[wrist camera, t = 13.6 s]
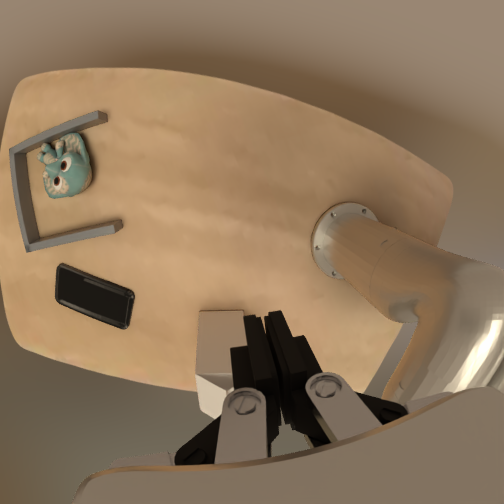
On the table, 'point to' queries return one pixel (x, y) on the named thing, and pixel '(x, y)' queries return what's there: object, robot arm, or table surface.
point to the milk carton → (216, 357)
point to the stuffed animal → (66, 166)
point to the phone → (94, 296)
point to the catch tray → (24, 194)
